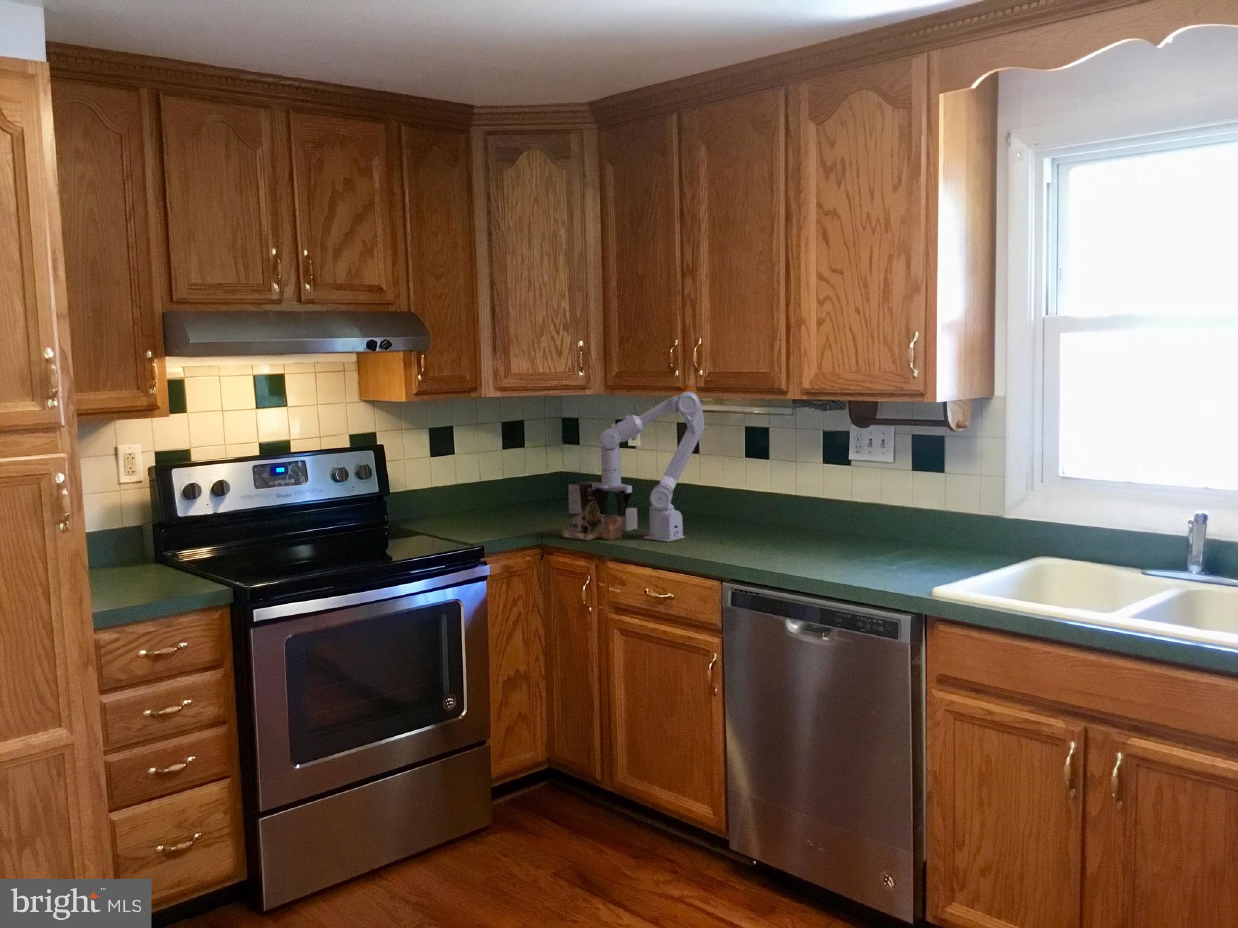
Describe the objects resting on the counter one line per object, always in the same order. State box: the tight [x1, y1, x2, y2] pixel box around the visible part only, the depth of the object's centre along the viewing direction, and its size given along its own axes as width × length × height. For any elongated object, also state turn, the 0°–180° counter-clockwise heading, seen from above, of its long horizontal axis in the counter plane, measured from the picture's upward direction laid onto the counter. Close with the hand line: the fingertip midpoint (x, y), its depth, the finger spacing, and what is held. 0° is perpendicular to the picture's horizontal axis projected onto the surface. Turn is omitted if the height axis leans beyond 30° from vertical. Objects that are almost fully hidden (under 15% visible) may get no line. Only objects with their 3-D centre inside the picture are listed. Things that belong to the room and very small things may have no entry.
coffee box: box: [567, 481, 605, 534], centre depth 329 cm, size 9×6×16 cm
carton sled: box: [561, 514, 623, 541], centre depth 328 cm, size 16×13×6 cm
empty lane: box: [621, 507, 639, 532], centre depth 343 cm, size 16×8×6 cm, turn 46°
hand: (612, 515), depth 322 cm, fingers open, 7 cm apart
